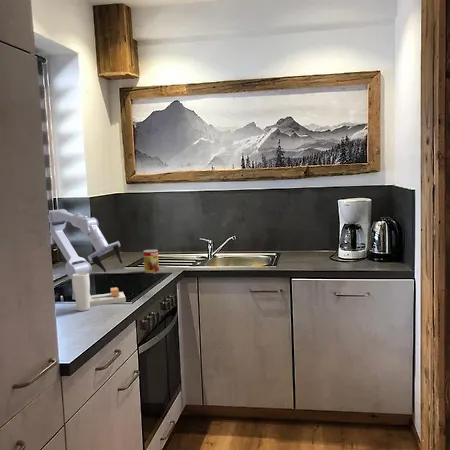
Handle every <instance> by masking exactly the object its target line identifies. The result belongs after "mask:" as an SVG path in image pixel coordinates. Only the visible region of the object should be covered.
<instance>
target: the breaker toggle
mask: <svg viewBox="0 0 450 450" xmlns="http://www.w3.org/2000/svg"><path fill="white" fill-rule="evenodd" d="M119 292H120V290H119V288H118V287H116V286H115V287H110V293H111V295H112V296H119Z"/></svg>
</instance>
